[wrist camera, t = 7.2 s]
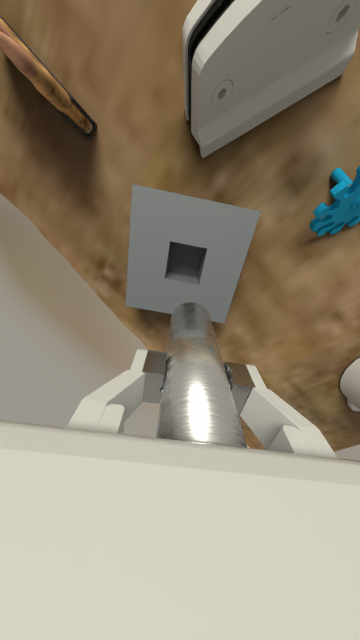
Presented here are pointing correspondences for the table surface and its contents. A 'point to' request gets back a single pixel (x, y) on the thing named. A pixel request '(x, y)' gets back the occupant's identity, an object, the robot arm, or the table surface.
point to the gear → (339, 205)
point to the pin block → (185, 251)
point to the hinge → (259, 60)
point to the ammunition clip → (44, 80)
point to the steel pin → (197, 384)
